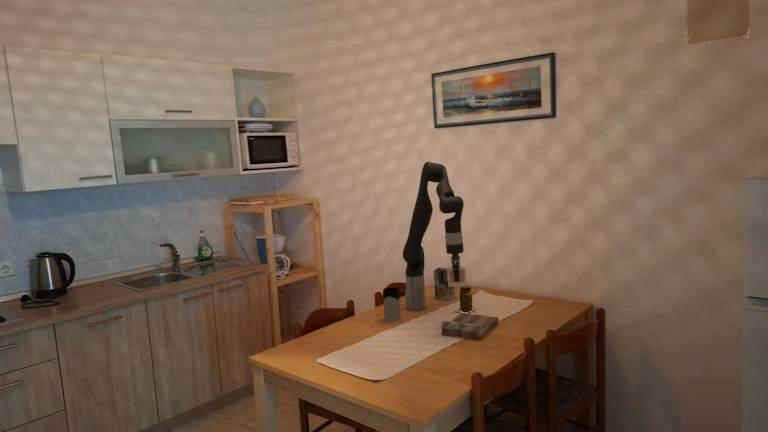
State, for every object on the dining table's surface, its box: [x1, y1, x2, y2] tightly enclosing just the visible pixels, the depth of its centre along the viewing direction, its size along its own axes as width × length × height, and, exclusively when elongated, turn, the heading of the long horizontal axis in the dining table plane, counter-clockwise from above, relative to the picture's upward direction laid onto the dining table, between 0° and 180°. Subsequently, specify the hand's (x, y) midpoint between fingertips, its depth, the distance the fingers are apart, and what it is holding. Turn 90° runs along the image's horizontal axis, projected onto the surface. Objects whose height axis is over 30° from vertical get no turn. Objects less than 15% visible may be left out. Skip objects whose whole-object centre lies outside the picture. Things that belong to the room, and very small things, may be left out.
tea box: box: [446, 265, 468, 288], centre depth 231 cm, size 5×8×8 cm, turn 81°
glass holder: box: [382, 287, 403, 324], centre depth 253 cm, size 9×14×15 cm, turn 166°
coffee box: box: [433, 267, 456, 301], centre depth 280 cm, size 9×6×16 cm
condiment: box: [457, 285, 474, 313], centre depth 257 cm, size 7×8×12 cm
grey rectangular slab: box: [441, 312, 499, 341], centre depth 232 cm, size 18×22×6 cm
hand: (457, 279), depth 231 cm, fingers closed on tea box, 5 cm apart
